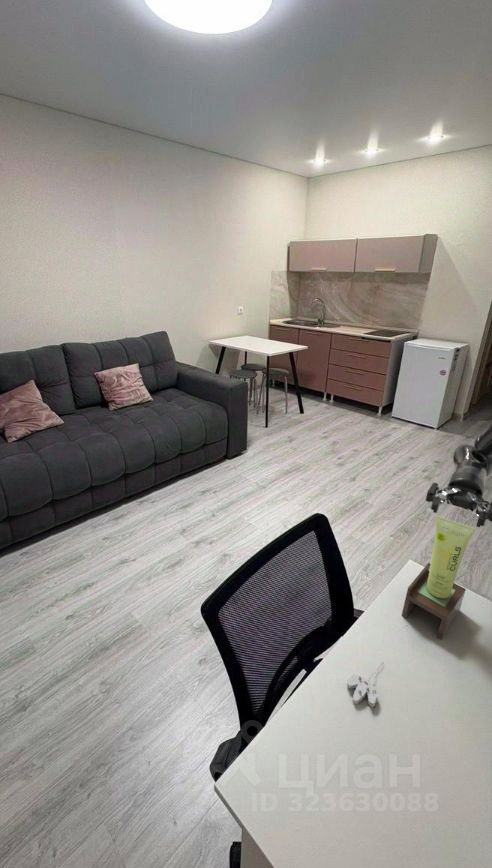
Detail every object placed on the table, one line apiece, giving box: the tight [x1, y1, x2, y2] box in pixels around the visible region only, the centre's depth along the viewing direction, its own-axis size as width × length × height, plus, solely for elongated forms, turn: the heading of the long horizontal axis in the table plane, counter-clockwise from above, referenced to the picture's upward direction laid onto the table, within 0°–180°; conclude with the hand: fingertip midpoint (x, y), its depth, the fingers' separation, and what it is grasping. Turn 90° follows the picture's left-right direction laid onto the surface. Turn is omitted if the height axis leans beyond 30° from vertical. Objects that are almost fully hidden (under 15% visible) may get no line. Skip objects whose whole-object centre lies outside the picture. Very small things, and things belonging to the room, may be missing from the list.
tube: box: [427, 515, 476, 598], centre depth 91 cm, size 6×5×20 cm
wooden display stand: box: [401, 562, 466, 640], centre depth 95 cm, size 12×9×9 cm
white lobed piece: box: [346, 661, 384, 707], centre depth 81 cm, size 6×12×3 cm, turn 151°
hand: (456, 516), depth 89 cm, fingers open, 8 cm apart
